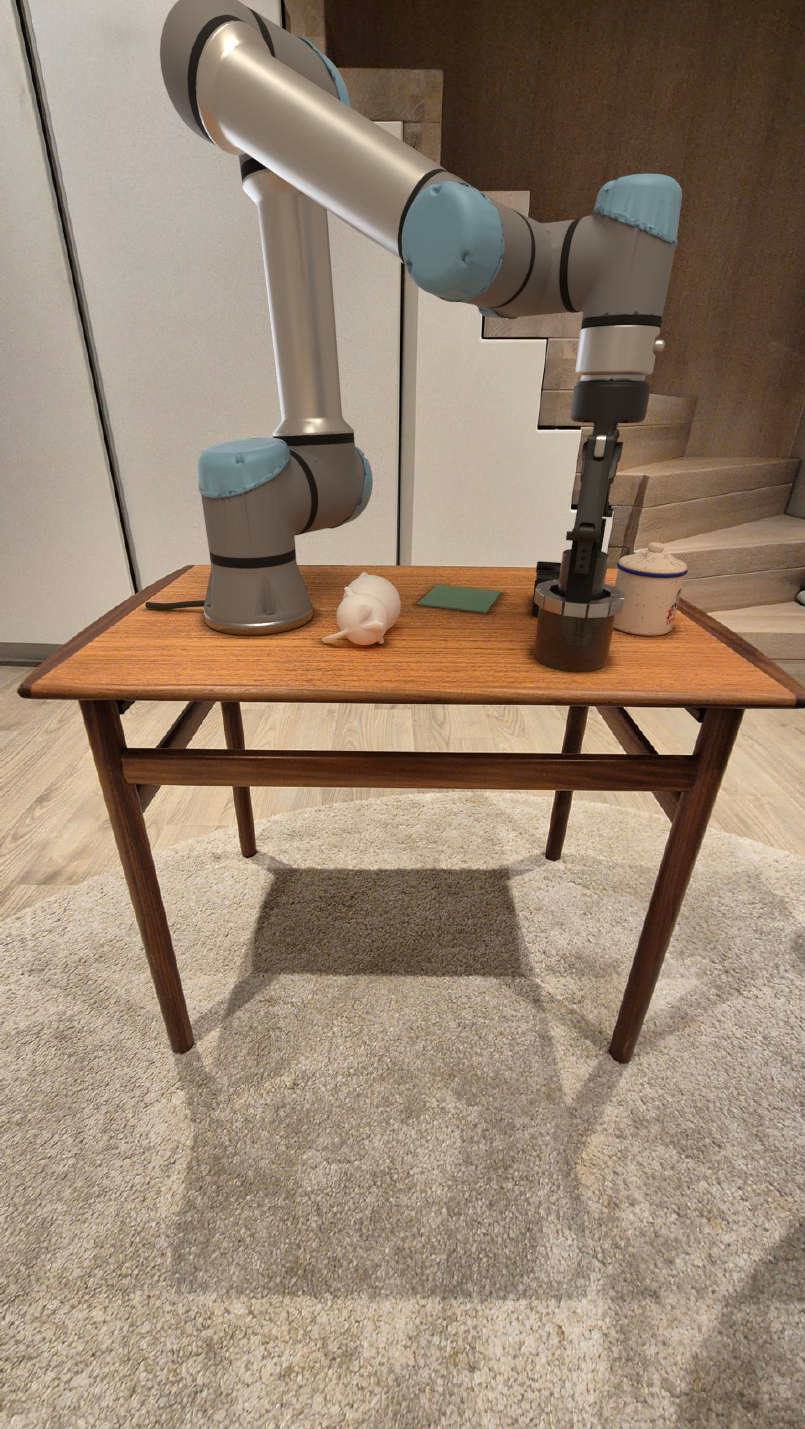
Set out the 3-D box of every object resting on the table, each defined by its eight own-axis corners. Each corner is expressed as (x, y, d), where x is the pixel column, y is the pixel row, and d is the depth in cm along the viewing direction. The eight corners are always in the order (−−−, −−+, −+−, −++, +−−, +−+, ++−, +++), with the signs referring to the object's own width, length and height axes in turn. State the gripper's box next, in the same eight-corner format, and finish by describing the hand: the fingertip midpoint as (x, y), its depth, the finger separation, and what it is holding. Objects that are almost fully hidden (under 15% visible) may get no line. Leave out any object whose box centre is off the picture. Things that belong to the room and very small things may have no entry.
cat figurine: (364, 581, 70) (384, 554, 81) (295, 622, 75) (322, 591, 85) (403, 642, 73) (417, 608, 84) (335, 678, 78) (356, 641, 88)
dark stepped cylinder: (528, 666, 73) (542, 548, 66) (538, 640, 80) (552, 532, 74) (604, 677, 70) (627, 555, 63) (608, 649, 78) (629, 538, 71)
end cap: (581, 621, 87) (588, 575, 84) (531, 617, 88) (537, 572, 85) (577, 601, 96) (584, 558, 93) (532, 597, 97) (537, 555, 94)
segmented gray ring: (528, 611, 69) (530, 598, 68) (541, 587, 78) (542, 575, 77) (621, 622, 66) (623, 608, 65) (623, 596, 75) (626, 584, 74)
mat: (417, 605, 93) (417, 603, 93) (437, 586, 102) (437, 584, 102) (486, 613, 90) (486, 611, 90) (501, 593, 99) (501, 591, 99)
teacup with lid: (680, 639, 81) (701, 553, 76) (610, 634, 83) (626, 549, 77) (661, 611, 92) (679, 533, 86) (600, 607, 93) (614, 531, 87)
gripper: (654, 375, 49) (611, 621, 59) (650, 382, 70) (619, 563, 80) (561, 376, 51) (534, 613, 61) (584, 382, 72) (562, 558, 82)
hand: (582, 585), depth 71 cm, fingers open, 13 cm apart
